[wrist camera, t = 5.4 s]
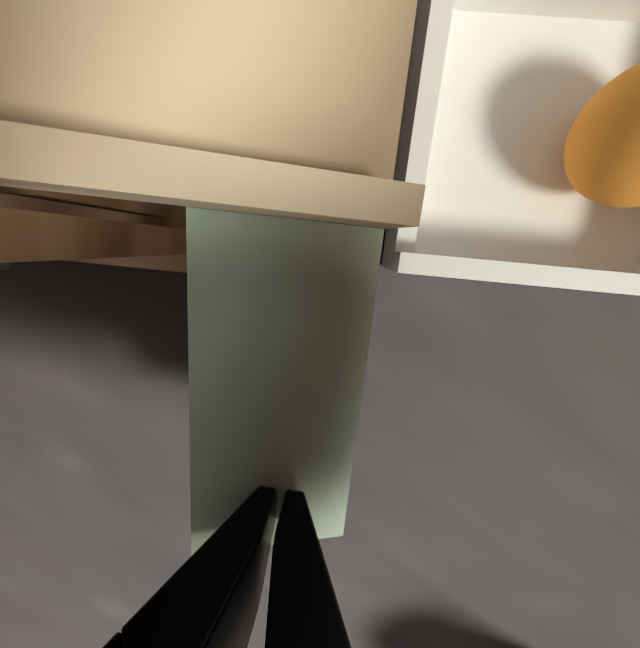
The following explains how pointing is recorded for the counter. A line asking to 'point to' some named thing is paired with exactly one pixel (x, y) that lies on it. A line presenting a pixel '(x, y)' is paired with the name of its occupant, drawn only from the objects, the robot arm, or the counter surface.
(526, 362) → the counter surface
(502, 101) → the dish
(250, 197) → the lever
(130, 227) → the stand
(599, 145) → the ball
